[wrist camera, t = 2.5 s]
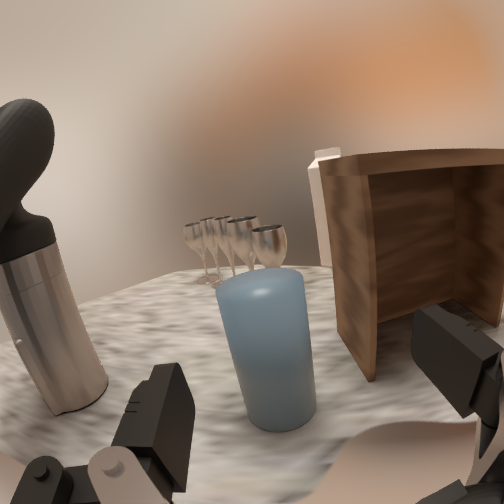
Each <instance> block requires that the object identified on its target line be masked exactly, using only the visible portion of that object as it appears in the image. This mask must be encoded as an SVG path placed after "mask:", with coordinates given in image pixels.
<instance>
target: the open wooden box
mask: <svg viewBox="0 0 504 504" xmlns="http://www.w3.org/2000/svg"><path fill="white" fill-rule="evenodd" d="M318 165H319V171H320V177H321V183H322V190H323V196H324V203H325V210H326V218H327V225H328V233H329V242H330V250H331V260H332V269H333V280H334V291H335V304H336V318H337V332H338V333H339V335H340V337H341V338H342V340H343V341H344V343H345V345H346V346H347V348H348V349H349V351H350V353H351V354H352V356H353V357H354V359H355V361H356V362H357V364H358V365H359V367H360V369H361V370H362V372H363V373H364V375H365V377H366V378H367V380H368V382H371V381H374V380H375V368H376V347H377V323H381V322H384V321H388V320H391V319H394V318H397V317H401V316H404V315H407V314H410V313H413V312H415V311H416V310H417V309H420V308H423V307H426V306H429V305H431V304H439V303H442V302H445V301H447V300H450V299H454V300H455V301H457V302H458V303H460V304H461V305H463V306H465V307H466V308H468V309H469V310H471V311H472V312H474V313H475V314H476V315H478V316H479V317H481V318H482V319H484V320H485V321H487V322H488V323H490V324H491V325H493V326H494V327H495V328H496V327H498V326H499V323H500V318H501V313H502V307H503V302H504V149H428V150H408V151H393V152H380V153H368V154H358V155H352V156H345V157H339V158H334V159H328V160H322V161H318Z"/></svg>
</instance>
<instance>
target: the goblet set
mask: <svg viewBox="0 0 504 504" xmlns="http://www.w3.org/2000/svg"><path fill="white" fill-rule="evenodd" d="M184 240H185V242H186V244H187V245H188V246H189V247H190V248H192V249H193V250H195V251H196V252H197V253H199V255H200V256H201V258H202V261H203V264H204V268H205V272H206V277H203V278H201V279H199V280H198V281H197V282H198V283H200V284H206V283H211V282H214V281H216V280H217V279H218V278H219V279H220V282H217V283H215V284H214V285H213V286H212V288H214V289H217V287H218V286H219V285H220V284H221V283H222V282H224V281H222V280H221V275H220V270H219V265H218V258H217V252H218V246H220V248H221V249H222V251H223V252H224V253H225V255H226V256H227V258H228V260H229V262H230V265H231V268H232V271H233V275H234V276H236V275H235V269H234V253H236V254H237V255H238V256H239V257H240V258H241V259H242V260H243V261H244V262H245V263H246V264H247V266H248V268H249V270H250V271H253V270H254V262H255V259H256V257H257V258H258V259H259V261H260V262H261V263H262V264H263V265H264V266H265V267H266V268H280V266H281V264H282V262H283V260H284V258H285V255H286V250H287V240H286V235H285V231H284V228H283V226H282V225H279V224H277V225H276V224H274V225H267V226H261V225H260V222H259V219H258V217H257V216H247V217H241V218H236V219H233V218H232V216H224V217H220V218H215V217H210V218H206V219H202V220H200V222H195V223H191V224H188V225H186V226H185V227H184ZM207 247H208V248H209V250H210V251H211V253H212V255H213V257H214V260H215V263H216V267H217V270H218V274H219V276H217V275H211V276H208V273H207V269H206V264H205V252H206V249H207Z"/></svg>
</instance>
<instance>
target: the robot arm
mask: <svg viewBox="0 0 504 504" xmlns="http://www.w3.org/2000/svg"><path fill="white" fill-rule="evenodd" d="M54 133H55V132H54V124H53V120H52V117H51V115H50V113H49V112H48V110H47V109H46V108H45V107H44V106H43V105H42V104H40V103H39V102H37V101H34V100H31V99H18V100H14V101H11V102H9V103H7V104H5V105H3V106H2V107H0V310H1V313H2V316H3V318H4V321H5V323H6V325H7V328H8V330H9V332H10V335H11V337H12V340H13V342H14V345H15V347H16V349H17V351H18V353H19V355H20V357H21V359H22V361H23V363H24V365H25V367H26V369H27V371H28V372H29V374H30V376H31V378H32V380H33V381H34V383H35V385H36V387H37V388H38V390H39V392H40V393H41V395H42V396H43V398H44V400H45V401H46V403H47V404H48V406H49V407H50V409H51V411H52V412H53V414H54V415H55V416H56V415H58V414H60V413H62V412H68V411H74V410H78V409H81V408H83V407H85V406H87V405H89V404H90V403H92V402H94V401H95V400H96V399H97V398H98V397H99V396H100V395H101V394H102V393H103V392H104V390H105V388H106V386H107V383H108V377H107V374H106V372H105V370H104V368H103V366H102V363H101V361H100V360H99V358H98V356H97V354H96V351H95V349H94V347H93V345H92V342H91V340H90V338H89V335H88V333H87V331H86V328H85V326H84V323H83V321H82V318H81V316H80V313H79V310H78V308H77V305H76V303H75V300H74V297H73V294H72V291H71V288H70V285H69V282H68V279H67V276H66V273H65V270H64V266H63V263H62V259H61V256H60V252H59V249H58V245H57V242H55V241H56V237H55V233H54V229H53V225H52V223H51V221H50V220H49V219H48V218H47V217H44V216H38V215H33V214H31V213H29V212H27V211H26V210H25V209H24V208H23V206H22V204H21V200H22V198H23V197H24V196H25V195H26V193H27V192H28V190H29V189H30V188H31V187H32V186H33V184H34V183H35V182H36V181H37V179H38V178H39V177H40V176H41V174H42V173H43V171H44V170H45V168H46V166H47V165H48V163H49V160H50V157H51V154H52V151H53V146H54V136H55V134H54ZM411 354H412V357H413V360H414V362H415V363H416V364H417V365H418V366H419V368H420V369H421V370H422V371H423V372H424V373H425V374H426V376H427V377H428V378H429V379H430V380H431V381H432V383H433V384H434V385H435V386H436V387H437V388H438V389H439V391H440V392H441V393H442V394H443V395H444V397H445V398H446V399H447V400H448V401H449V402H450V404H451V405H452V406H453V407H454V408H455V410H456V411H457V412H458V413H459V414H460V416H461V417H462V418H463V419H464V418H465V417H467V416H469V415H470V414H472V413H474V412H476V413H477V415H478V416H479V417H478V420H477V428H476V441H475V452H474V460H473V466H472V470H471V473H470V475H469V478H468V480H467V482H466V485H465V486H463V484H462V483H461V481H460V480H459V479H458V480H457V481H455V482H453V483H451V484H450V485H448V486H446V487H444V488H442V489H441V490H439V491H437V492H435V493H433V494H431V495H429V496H427V497H425V498H423V499H421V500H420V501H419V502H418V503H416V504H504V348H503V347H501V346H500V345H499V344H497V343H496V342H495V341H493V340H492V339H491V338H489V337H488V336H487V335H485V334H484V333H483V332H481V331H480V330H479V331H478V329H477V328H476V327H475V326H473V325H470V323H469V322H468V321H466V320H465V319H463V318H462V317H460V316H457V315H454V314H452V313H448V312H447V311H445V310H444V309H442V308H441V307H440V306H438V305H437V304H431V305H429V306H426V307H423V308H420V309H417V310H416V311H415V312H414V316H413V329H412V340H411ZM194 420H195V404H194V400H193V397H192V394H191V392H190V389H189V387H188V384H187V382H186V379H185V377H184V374H183V371H182V369H181V367H180V365H179V364H178V363H169V364H159V365H155V366H154V368H153V370H152V373H151V375H150V378H149V380H146V381H142V382H141V383H140V384H139V385H138V386H137V387H136V388H135V389H134V390H133V392H132V394H131V397H130V399H129V404H127V406H126V409H125V413H124V414H123V416H122V419H121V421H120V424H119V426H118V429H117V431H116V434H115V436H114V439H113V442H112V444H111V447H107V448H104V449H102V450H100V451H98V452H97V453H96V454H95V455H94V456H93V457H92V458H91V460H90V461H89V464H88V465H83V466H75V467H66V468H64V467H63V466H62V465H61V463H60V462H59V461H58V460H57V459H55V458H54V457H51V456H42V457H39V458H36V459H34V460H33V461H32V462H30V463H29V465H28V466H27V467H26V469H25V471H24V473H23V476H22V478H21V480H20V482H19V484H18V486H17V489H16V491H15V493H14V496H13V498H12V500H11V503H10V504H175V503H174V502H173V501H172V493H173V492H181V493H185V492H186V483H187V475H188V466H189V458H190V450H191V442H192V434H193V427H194Z"/></svg>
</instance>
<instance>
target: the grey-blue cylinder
mask: <svg viewBox="0 0 504 504" xmlns="http://www.w3.org/2000/svg"><path fill="white" fill-rule="evenodd" d="M216 297H217V301H218V305H219V309H220V313H221V317H222V321H223V325H224V329H225V332H226V336H227V340H228V344H229V348H230V351H231V355H232V359H233V363H234V366H235V370H236V373H237V377H238V381H239V384H240V388H241V391H242V395H243V398H244V402H245V405H246V408H247V412H248V415H249V418H250V420H251V422H252V423H253V424H254V425H255V426H257V427H258V428H260V429H262V430H265V431H269V432H286V431H291V430H294V429H296V428H299V427H301V426H302V425H304V424H305V423H307V422H308V421H309V420H310V419H311V418H312V416H313V415H314V413H315V410H316V393H315V382H314V371H313V360H312V350H311V341H310V331H309V322H308V314H307V305H306V297H305V289H304V282H303V276H302V274H301V273H300V272H298V271H296V270H293V269H289V268H265V269H258V270H253V271H248V272H245V273H241V274H239V275H236V276H233V277H231V278H229V279H227V280H225V281H224V282H222V283H221V284H220V285H219V286H218V287H217V289H216Z"/></svg>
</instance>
